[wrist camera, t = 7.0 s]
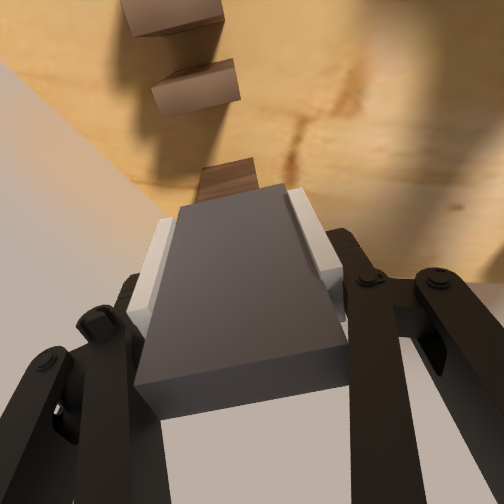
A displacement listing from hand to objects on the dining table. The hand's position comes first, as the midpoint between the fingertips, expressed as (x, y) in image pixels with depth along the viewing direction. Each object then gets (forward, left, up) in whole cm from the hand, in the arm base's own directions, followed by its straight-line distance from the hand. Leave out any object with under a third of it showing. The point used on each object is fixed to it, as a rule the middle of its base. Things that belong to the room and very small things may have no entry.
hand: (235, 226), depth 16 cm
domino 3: (+5, -1, -21) cm, 22 cm away
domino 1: (-10, -1, -21) cm, 24 cm away
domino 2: (-5, -1, -21) cm, 22 cm away
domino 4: (0, 0, -2) cm, 2 cm away
